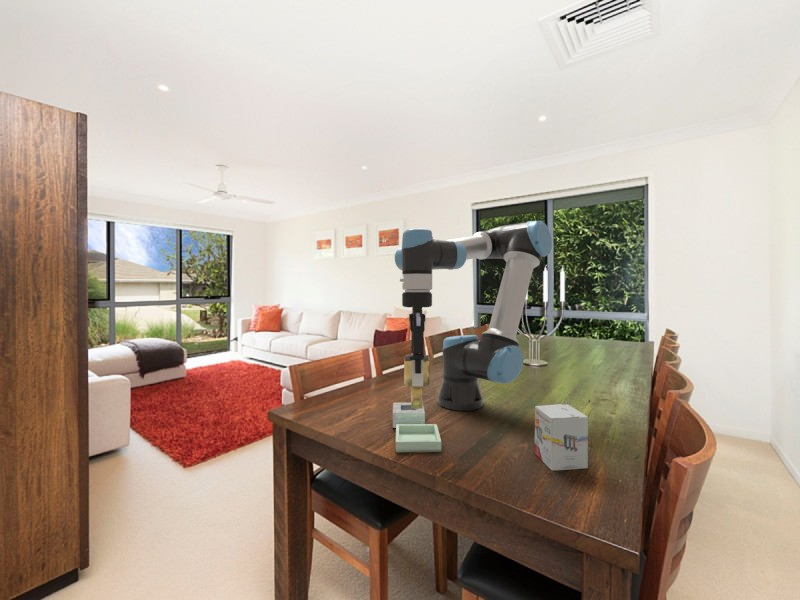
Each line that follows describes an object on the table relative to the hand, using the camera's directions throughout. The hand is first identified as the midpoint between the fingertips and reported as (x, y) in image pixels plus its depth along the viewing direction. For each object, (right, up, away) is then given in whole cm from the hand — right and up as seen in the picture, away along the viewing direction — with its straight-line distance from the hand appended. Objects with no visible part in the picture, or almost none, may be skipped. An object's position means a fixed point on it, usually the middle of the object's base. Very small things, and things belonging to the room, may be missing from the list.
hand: (416, 381), depth 91 cm
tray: (0, -16, +1) cm, 16 cm away
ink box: (+32, -16, -9) cm, 37 cm away
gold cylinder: (0, -6, 0) cm, 6 cm away
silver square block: (-2, -15, +14) cm, 20 cm away
